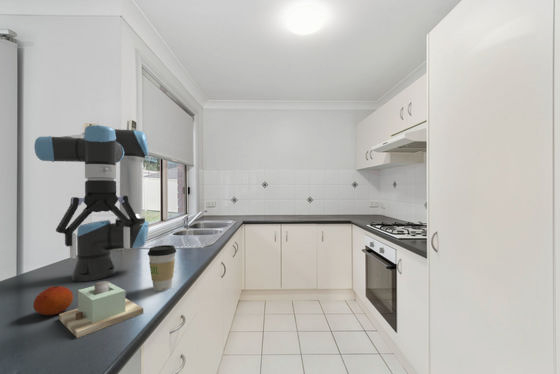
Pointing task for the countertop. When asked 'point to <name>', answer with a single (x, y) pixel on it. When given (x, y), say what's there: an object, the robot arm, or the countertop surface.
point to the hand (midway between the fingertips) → (101, 252)
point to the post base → (84, 326)
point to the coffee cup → (162, 266)
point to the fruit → (53, 300)
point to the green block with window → (101, 303)
